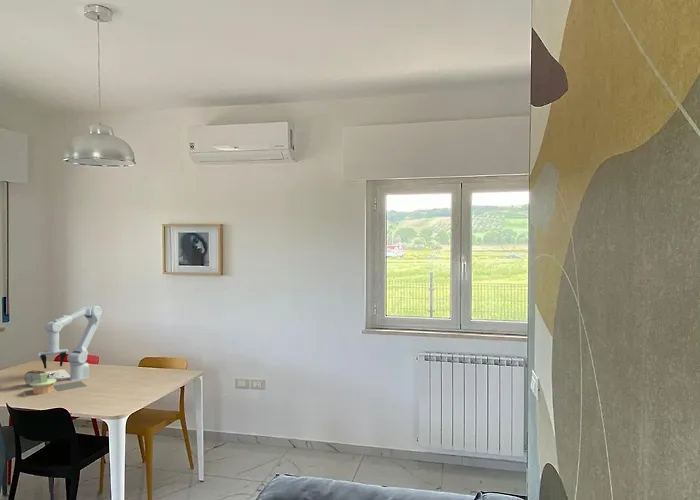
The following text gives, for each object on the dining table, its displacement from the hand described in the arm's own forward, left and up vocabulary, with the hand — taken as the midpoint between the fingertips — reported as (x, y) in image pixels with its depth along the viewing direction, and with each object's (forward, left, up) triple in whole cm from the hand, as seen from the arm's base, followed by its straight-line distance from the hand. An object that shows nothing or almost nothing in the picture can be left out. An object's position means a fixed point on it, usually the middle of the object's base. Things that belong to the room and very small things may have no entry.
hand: (53, 367), depth 270 cm
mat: (-6, +9, -10) cm, 15 cm away
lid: (+7, +11, -5) cm, 14 cm away
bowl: (+7, +11, -10) cm, 16 cm away
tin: (+7, -6, -11) cm, 14 cm away
